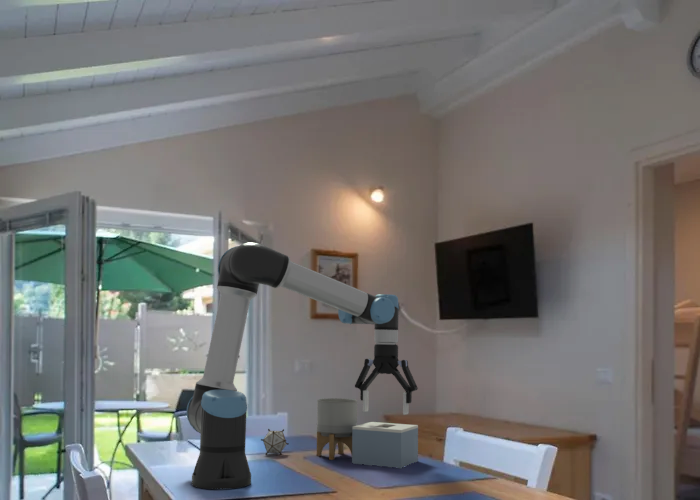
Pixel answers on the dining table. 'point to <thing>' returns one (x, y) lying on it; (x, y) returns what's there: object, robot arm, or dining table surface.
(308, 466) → the dining table surface
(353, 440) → the coin box
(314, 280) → the robot arm
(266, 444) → the game die
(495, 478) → the dining table surface
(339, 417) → the planter
